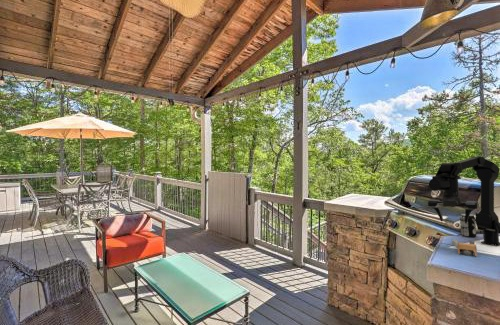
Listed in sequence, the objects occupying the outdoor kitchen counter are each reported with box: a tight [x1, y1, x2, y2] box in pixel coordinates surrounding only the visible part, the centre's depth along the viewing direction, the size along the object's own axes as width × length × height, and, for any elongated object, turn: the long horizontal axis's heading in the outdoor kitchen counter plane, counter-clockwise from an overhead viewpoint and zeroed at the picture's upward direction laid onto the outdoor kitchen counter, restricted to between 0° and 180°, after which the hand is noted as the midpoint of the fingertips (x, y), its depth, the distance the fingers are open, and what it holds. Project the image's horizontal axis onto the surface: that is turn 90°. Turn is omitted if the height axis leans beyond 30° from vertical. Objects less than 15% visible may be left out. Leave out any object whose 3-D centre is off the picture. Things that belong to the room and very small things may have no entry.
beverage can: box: [459, 213, 477, 239], centre depth 146 cm, size 7×7×12 cm
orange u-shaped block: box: [457, 242, 478, 257], centre depth 118 cm, size 3×6×4 cm, turn 49°
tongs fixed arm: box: [461, 240, 476, 257], centre depth 124 cm, size 20×4×2 cm, turn 139°
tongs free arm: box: [451, 239, 462, 253], centre depth 128 cm, size 15×2×2 cm, turn 154°
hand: (453, 222), depth 125 cm, fingers open, 9 cm apart
